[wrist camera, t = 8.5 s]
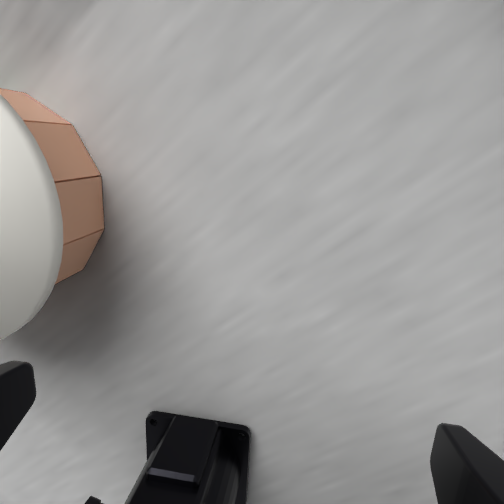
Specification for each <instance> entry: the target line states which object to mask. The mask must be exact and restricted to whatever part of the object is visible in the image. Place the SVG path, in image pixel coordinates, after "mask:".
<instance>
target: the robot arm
mask: <svg viewBox="0 0 504 504" xmlns="http://www.w3.org/2000/svg"><path fill="white" fill-rule="evenodd" d="M35 398H36V387H35V379H34V371H33V367H32V365H31V364H30V363H27V362H21V361H10V362H7V363H4V364H0V451H1V449H2V448H3V446H4V445H5V443H6V442H7V441H8V439H9V438H10V436H11V435H12V433H13V432H14V431H15V429H16V428H17V426H18V425H19V423H20V422H21V421H22V419H23V418H24V416H25V415H26V413H27V412H28V411H29V409H30V408H31V406H32V405H33V403H34V401H35ZM153 419H155V420H156V421H154V420H153ZM239 433H242V434H244V436H242V435H240V434H239ZM250 437H251V432H250V429H249V428H248V427H246V426H244V425H239V424H233V423H226V422H220V421H214V420H208V419H201V418H195V417H189V416H183V415H177V414H170V413H164V412H158V411H152V412H150V414H149V415H148V417H147V418H146V443H147V462H146V464H145V466H144V468H143V470H142V472H141V474H140V475H139V477H138V479H137V481H136V483H135V485H134V487H133V489H132V491H131V492H130V494H129V496H128V498H127V500H126V502H125V504H246V501H247V485H248V469H249V453H250ZM430 465H431V472H432V477H433V481H434V486H435V491H436V496H437V501H438V504H504V460H502V459H501V458H500V457H499V456H498V455H496V454H495V453H494V452H493V451H491V450H490V449H489V448H488V447H487V446H485V445H484V444H483V443H482V442H481V441H479V440H478V439H477V438H476V437H475V436H473V435H472V434H471V433H470V432H469V431H467V430H466V429H465V428H463V427H462V426H459V425H453V424H446V423H441V424H439V425H438V427H437V430H436V434H435V438H434V443H433V447H432V452H431V457H430ZM85 504H103V503H101V500H99V499H97V498H95V497H92V496H90V497H89V499H88V500H87V501H86V502H85Z"/></svg>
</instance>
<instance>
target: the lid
mask: <svg viewBox="0 0 504 504" xmlns="http://www.w3.org/2000/svg"><path fill="white" fill-rule="evenodd" d="M62 250H63V221H62V214H61V207H60V201H59V197H58V193H57V190H56V186H55V182H54V179H53V177H52V174H51V171H50V169H49V166H48V164H47V161H46V159H45V157H44V155H43V153H42V151H41V149H40V147H39V145H38V143H37V141H36V139H35V138H34V136H33V135H32V133H31V132H30V130H29V129H28V127H27V126H26V124H25V123H24V121H23V120H22V118H21V117H20V116H19V115H18V113H17V112H16V111H15V110H14V108H13V107H12V106H11V105H10V104H9V102H8V101H7V100H6V99H5V98H4V97H3V96H2V95H1V94H0V341H1V340H3V339H4V338H6V337H8V336H9V335H11V334H13V333H14V332H16V331H17V330H19V329H21V328H22V327H23V326H24V325H26V324H27V323H28V322H29V321H30V320H32V319H33V318H34V317H35V315H36V314H37V313H38V312H39V311H40V310H41V308H42V307H43V306H44V304H45V302H46V301H47V299H48V297H49V296H50V294H51V292H52V290H53V287H54V285H55V282H56V280H57V277H58V273H59V269H60V265H61V260H62Z"/></svg>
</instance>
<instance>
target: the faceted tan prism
mask: <svg viewBox="0 0 504 504" xmlns="http://www.w3.org/2000/svg"><path fill="white" fill-rule="evenodd" d="M0 94H1V95H2V96H3V97H4V98H5V99H6V100H7V101H8V102H9V104H10V105H11V106H12V107H13V108H14V110H15V111H16V112H17V113H18V115H19V116H20V117H21V118H22V120H23V121H24V123H25V124H26V126H27V127H28V129H29V130H30V132H31V133H32V135H33V136H34V138H35V139H36V141H37V143H38V145H39V147H40V149H41V151H42V153H43V155H44V157H45V159H46V161H47V164H48V166H49V169H50V171H51V174H52V177H53V179H54V182H55V186H56V190H57V193H58V197H59V201H60V207H61V214H62V221H63V250H62V260H61V265H60V269H59V273H58V277H57V280H56V282H55V284H57V283H59V282H60V281H62V280H64V279H66V278H68V277H70V276H72V275H74V274H75V273H77V272H79V271H81V270H83V269H84V267H85V265H86V263H87V262H88V260H89V258H90V256H91V254H92V252H93V250H94V248H95V246H96V244H97V242H98V240H99V238H100V236H101V234H102V233H103V231H104V229H103V228H104V214H103V197H102V180H101V177H100V175H101V174H100V173H99V171H98V169H97V167H96V166H95V164H94V162H93V160H92V159H91V157H90V155H89V153H88V152H87V150H86V148H85V146H84V144H83V143H82V141H81V139H80V137H79V136H78V134H77V132H76V130H75V129H74V127H73V125H71V123H69V122H68V121H66V120H65V119H63V118H62V117H60V116H59V115H57V114H56V113H54V112H53V111H51V110H50V109H48V108H47V107H46V106H44V105H43V104H41V103H40V102H38V101H37V100H35V99H34V98H32V97H31V96H29V95H28V94H26V93H23V92H18V91H12V90H7V89H1V88H0Z"/></svg>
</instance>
